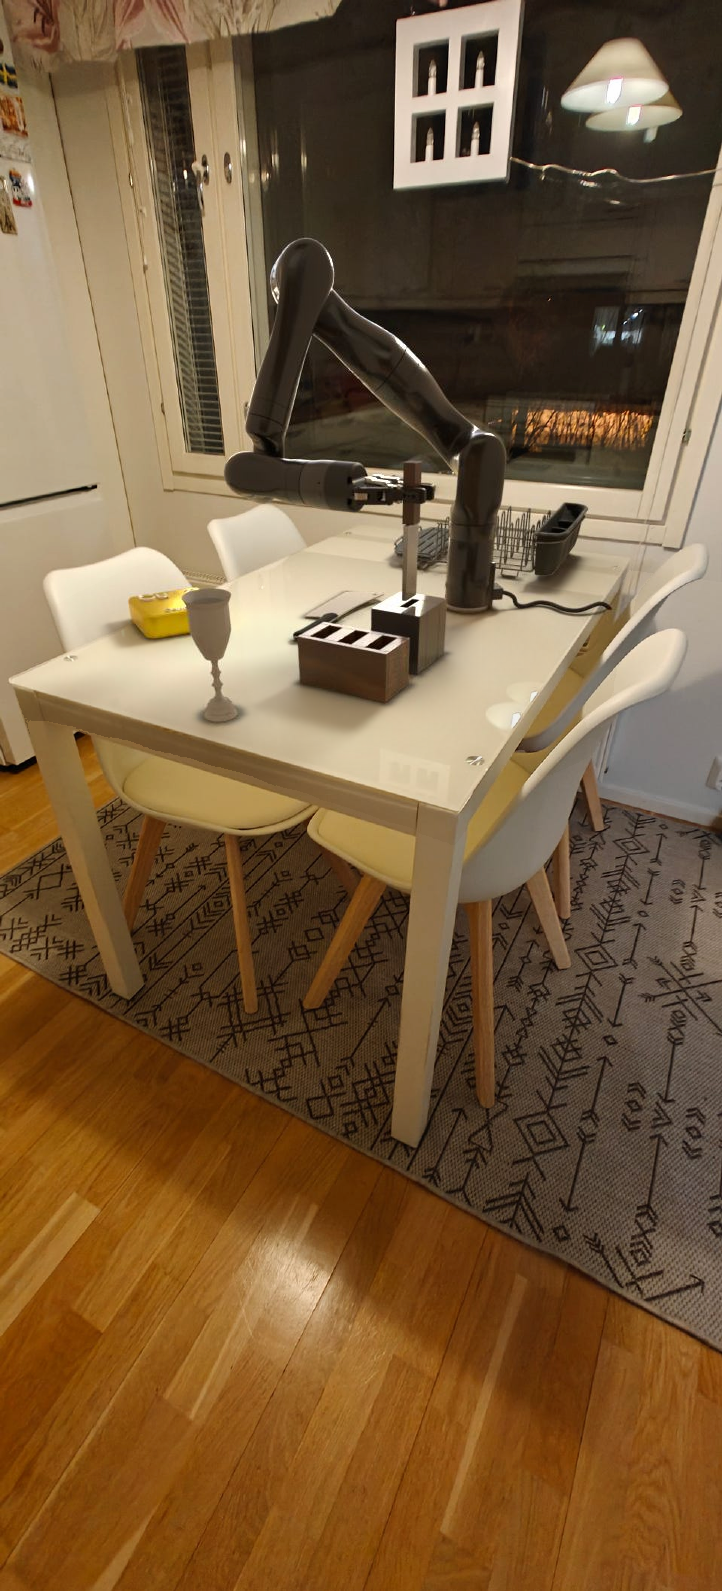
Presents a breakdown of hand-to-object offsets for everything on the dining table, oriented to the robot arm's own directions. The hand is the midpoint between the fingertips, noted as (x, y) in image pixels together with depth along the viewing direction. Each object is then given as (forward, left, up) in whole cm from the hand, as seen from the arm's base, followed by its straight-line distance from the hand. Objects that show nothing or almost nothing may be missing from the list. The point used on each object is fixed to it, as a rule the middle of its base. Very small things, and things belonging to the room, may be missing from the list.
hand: (429, 494), depth 111 cm
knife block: (+2, -2, -27) cm, 28 cm away
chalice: (+35, +14, -28) cm, 47 cm away
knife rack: (+13, +7, -27) cm, 31 cm away
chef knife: (+2, -2, -16) cm, 17 cm away
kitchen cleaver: (+12, -28, -28) cm, 41 cm away
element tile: (+43, -30, -28) cm, 59 cm away
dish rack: (-33, -64, -28) cm, 78 cm away
